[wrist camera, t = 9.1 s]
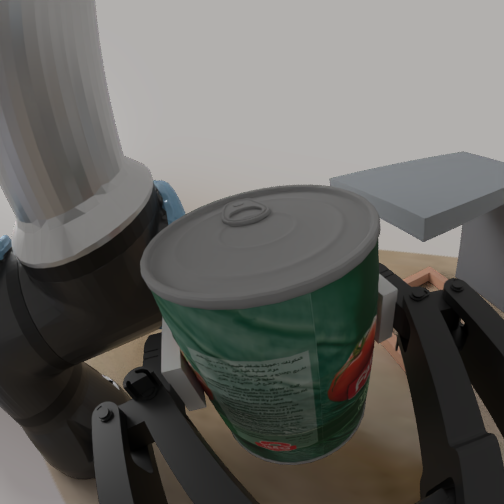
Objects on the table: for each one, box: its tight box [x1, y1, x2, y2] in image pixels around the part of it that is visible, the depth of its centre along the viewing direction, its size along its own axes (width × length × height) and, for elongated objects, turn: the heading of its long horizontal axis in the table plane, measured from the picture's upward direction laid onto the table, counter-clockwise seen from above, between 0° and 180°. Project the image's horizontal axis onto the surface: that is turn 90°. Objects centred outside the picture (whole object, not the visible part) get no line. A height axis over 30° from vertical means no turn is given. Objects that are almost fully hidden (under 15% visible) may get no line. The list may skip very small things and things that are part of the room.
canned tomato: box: [140, 185, 380, 465], centre depth 12 cm, size 8×8×11 cm
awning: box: [329, 152, 504, 312], centre depth 24 cm, size 22×12×18 cm, turn 104°
